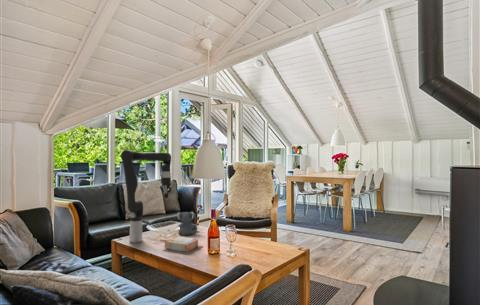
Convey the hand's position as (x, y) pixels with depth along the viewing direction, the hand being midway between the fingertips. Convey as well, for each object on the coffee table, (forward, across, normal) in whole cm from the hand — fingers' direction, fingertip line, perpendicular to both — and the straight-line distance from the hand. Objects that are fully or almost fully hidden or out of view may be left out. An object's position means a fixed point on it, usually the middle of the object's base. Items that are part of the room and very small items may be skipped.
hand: (166, 197), depth 251 cm
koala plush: (+35, +1, +25) cm, 43 cm away
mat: (+35, +26, -12) cm, 45 cm away
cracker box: (+32, +13, -12) cm, 37 cm away
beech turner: (+35, +4, -2) cm, 35 cm away
